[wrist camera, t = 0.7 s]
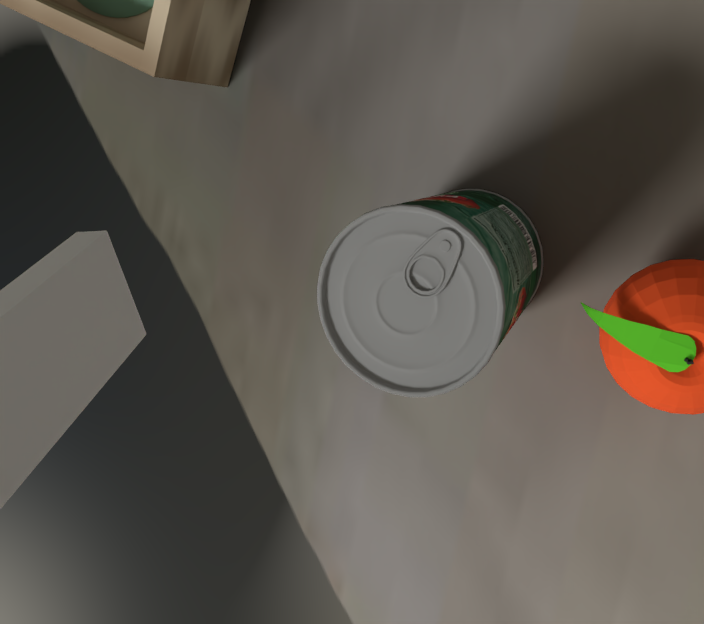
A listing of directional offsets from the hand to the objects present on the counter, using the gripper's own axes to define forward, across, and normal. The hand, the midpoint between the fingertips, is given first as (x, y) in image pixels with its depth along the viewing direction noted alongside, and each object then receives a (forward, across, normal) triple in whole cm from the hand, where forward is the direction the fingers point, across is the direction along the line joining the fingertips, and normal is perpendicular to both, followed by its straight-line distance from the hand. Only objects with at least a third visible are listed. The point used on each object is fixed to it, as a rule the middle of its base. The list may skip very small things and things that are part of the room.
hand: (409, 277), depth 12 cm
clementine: (+18, +10, -12) cm, 24 cm away
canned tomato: (+20, 0, -10) cm, 23 cm away
